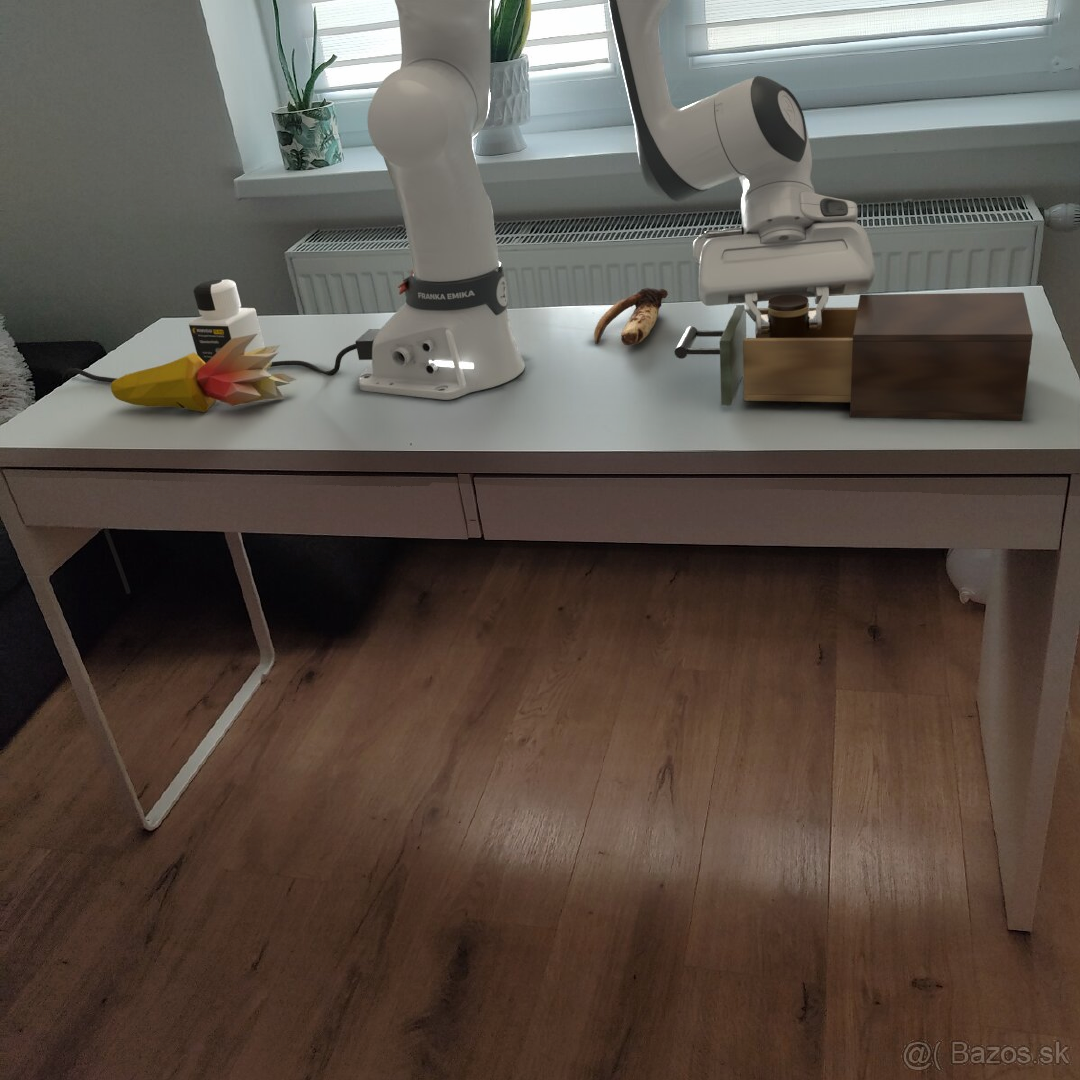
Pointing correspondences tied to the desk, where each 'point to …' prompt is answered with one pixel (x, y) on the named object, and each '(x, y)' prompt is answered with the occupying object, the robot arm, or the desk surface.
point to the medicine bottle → (222, 319)
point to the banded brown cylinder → (788, 316)
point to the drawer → (782, 359)
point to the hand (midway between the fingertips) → (789, 330)
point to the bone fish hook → (634, 315)
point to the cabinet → (941, 356)
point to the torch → (205, 379)
